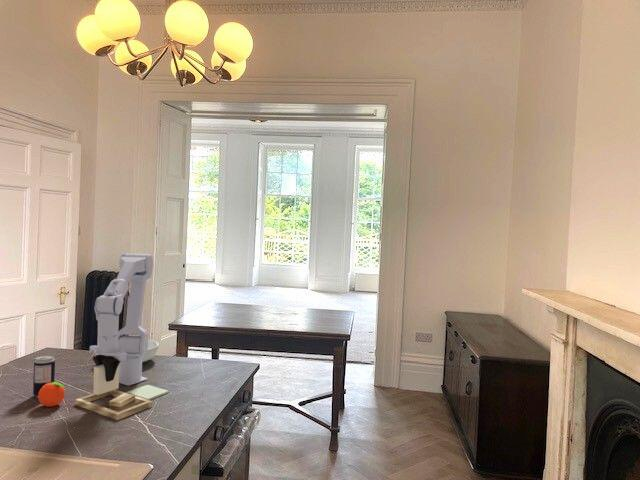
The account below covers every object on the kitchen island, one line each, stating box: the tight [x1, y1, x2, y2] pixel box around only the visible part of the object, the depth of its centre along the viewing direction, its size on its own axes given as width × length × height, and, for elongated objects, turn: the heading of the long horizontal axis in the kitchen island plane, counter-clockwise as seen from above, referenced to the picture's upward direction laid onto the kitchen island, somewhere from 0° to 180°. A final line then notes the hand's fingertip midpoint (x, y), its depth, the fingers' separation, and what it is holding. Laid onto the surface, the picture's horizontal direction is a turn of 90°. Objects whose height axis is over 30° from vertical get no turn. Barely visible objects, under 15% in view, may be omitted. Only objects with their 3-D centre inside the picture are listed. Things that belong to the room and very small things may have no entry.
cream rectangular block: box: [92, 364, 120, 395], centre depth 141 cm, size 2×7×8 cm, turn 151°
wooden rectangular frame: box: [75, 389, 153, 421], centre depth 140 cm, size 19×12×2 cm, turn 61°
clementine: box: [37, 381, 67, 407], centre depth 138 cm, size 8×7×7 cm
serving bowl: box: [142, 339, 159, 363], centre depth 182 cm, size 21×21×7 cm
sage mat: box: [125, 384, 170, 401], centre depth 150 cm, size 10×8×1 cm
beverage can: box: [32, 354, 56, 399], centre depth 145 cm, size 6×6×12 cm
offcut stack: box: [108, 392, 137, 412], centre depth 137 cm, size 4×7×4 cm, turn 166°
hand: (106, 379), depth 141 cm, fingers closed on cream rectangular block, 2 cm apart
